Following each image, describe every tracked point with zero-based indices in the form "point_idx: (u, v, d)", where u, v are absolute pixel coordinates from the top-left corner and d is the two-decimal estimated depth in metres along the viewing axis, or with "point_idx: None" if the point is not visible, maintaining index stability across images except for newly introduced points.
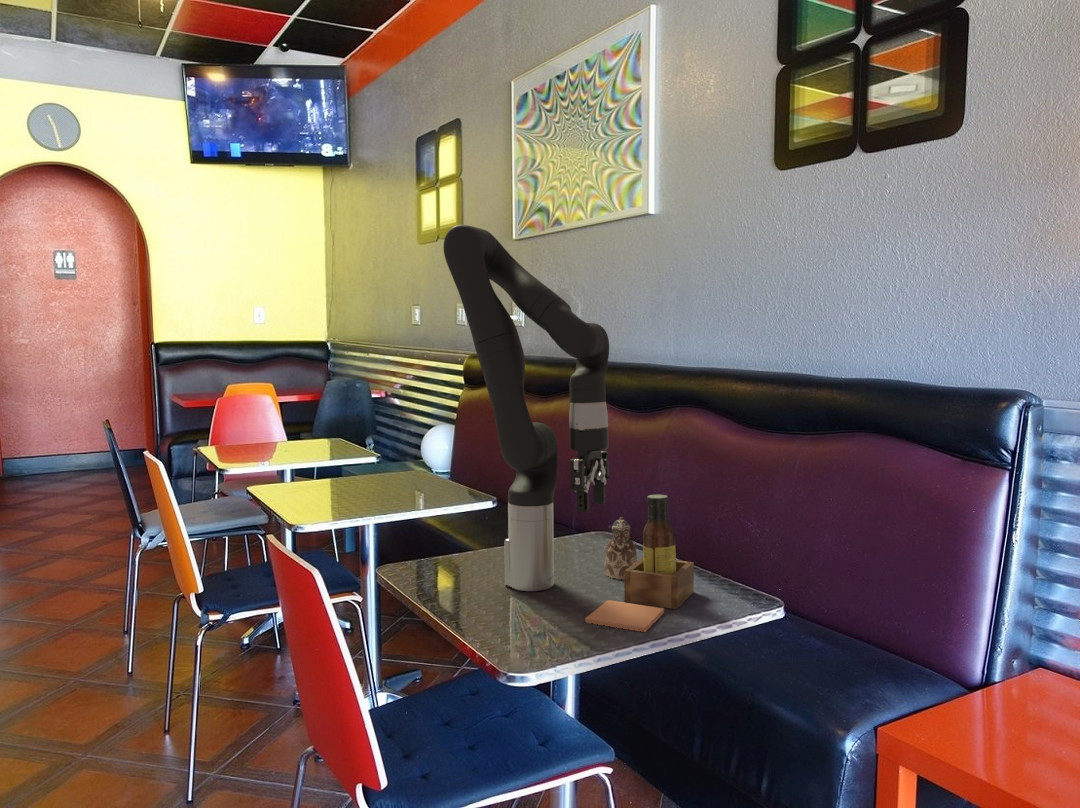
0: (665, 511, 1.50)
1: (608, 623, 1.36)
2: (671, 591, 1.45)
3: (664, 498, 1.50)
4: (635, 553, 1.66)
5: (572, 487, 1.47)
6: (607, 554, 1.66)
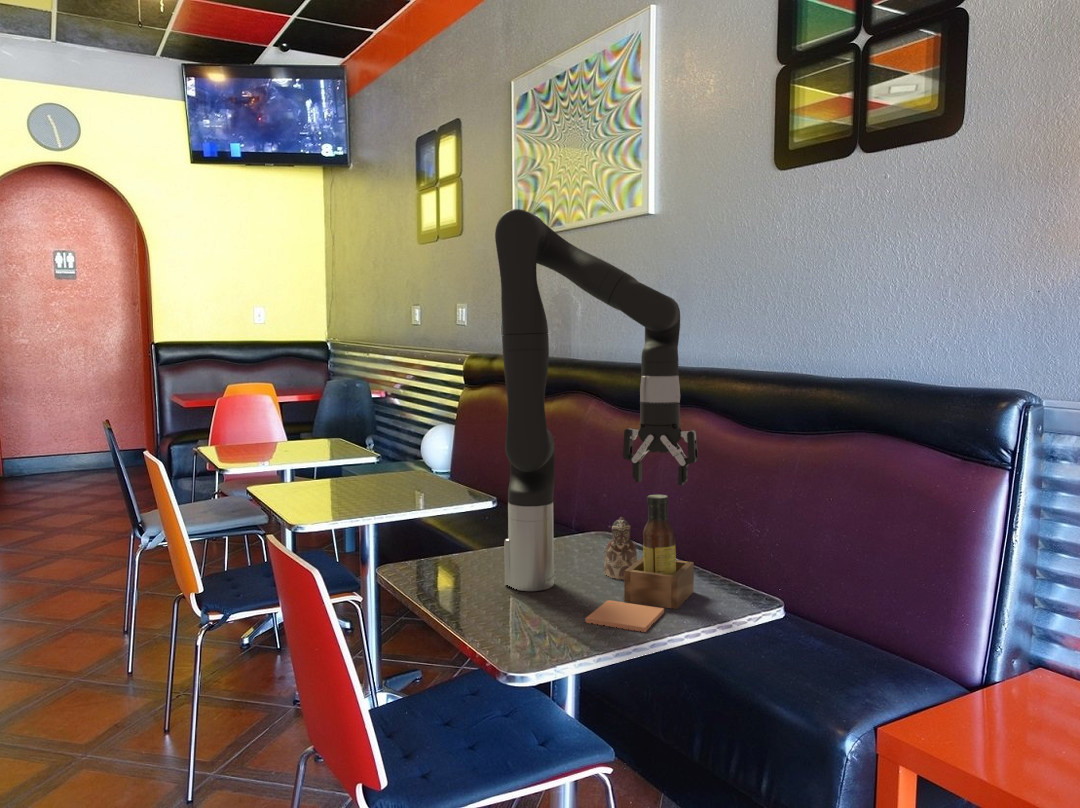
0: (665, 511, 1.50)
1: (608, 623, 1.36)
2: (671, 591, 1.45)
3: (664, 498, 1.50)
4: (635, 553, 1.66)
5: (695, 459, 1.47)
6: (607, 554, 1.66)
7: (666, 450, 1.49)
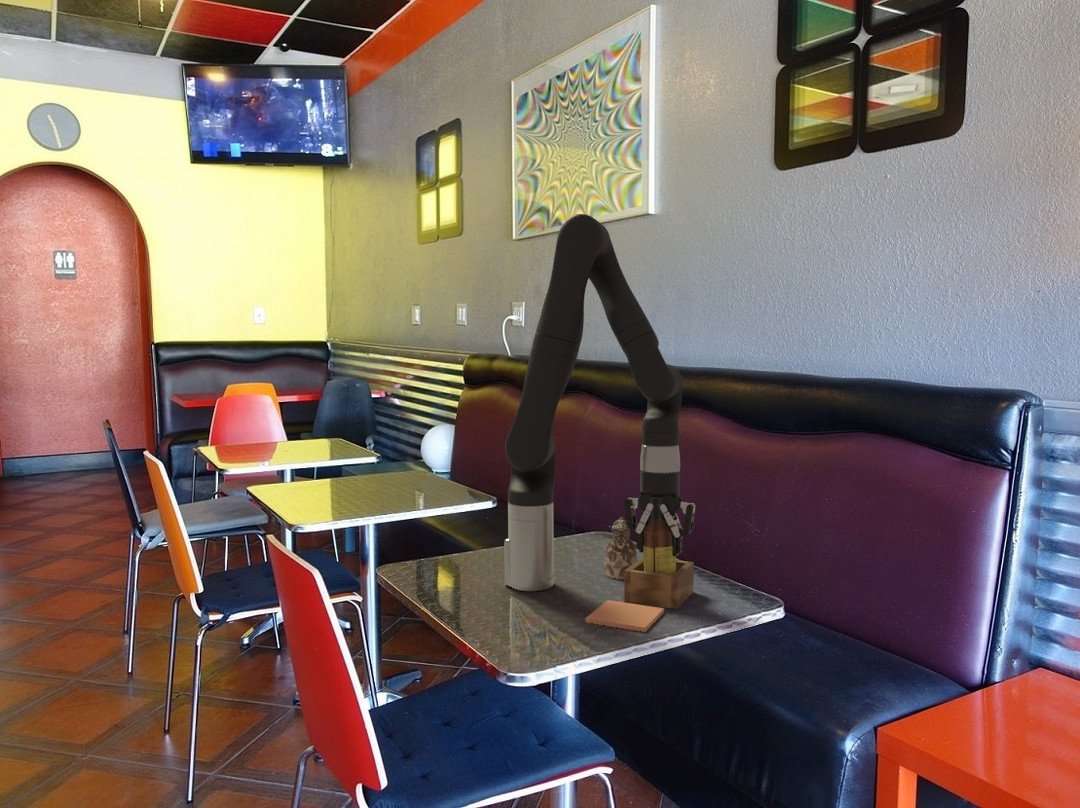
0: None
1: (608, 623, 1.36)
2: (671, 591, 1.45)
3: None
4: (635, 553, 1.66)
5: (689, 532, 1.48)
6: (607, 554, 1.66)
7: (666, 519, 1.50)
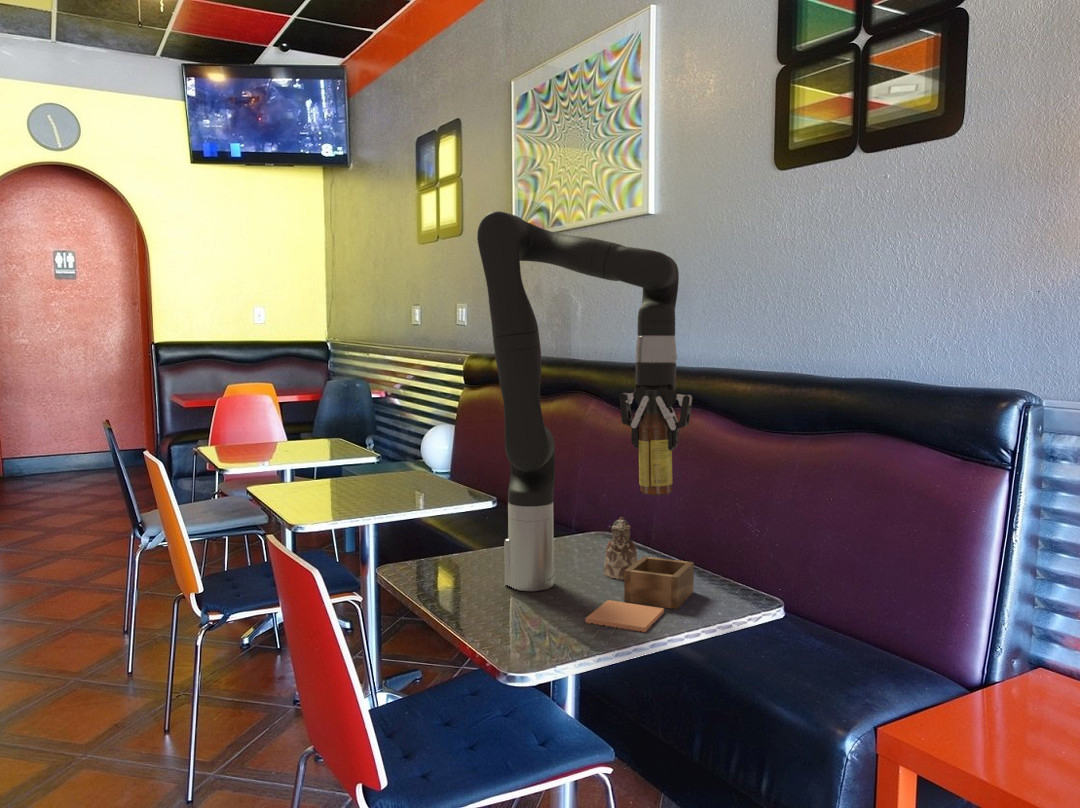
0: None
1: (608, 623, 1.36)
2: (671, 591, 1.45)
3: (660, 390, 1.46)
4: (635, 553, 1.66)
5: (686, 424, 1.45)
6: (607, 554, 1.66)
7: (661, 411, 1.46)
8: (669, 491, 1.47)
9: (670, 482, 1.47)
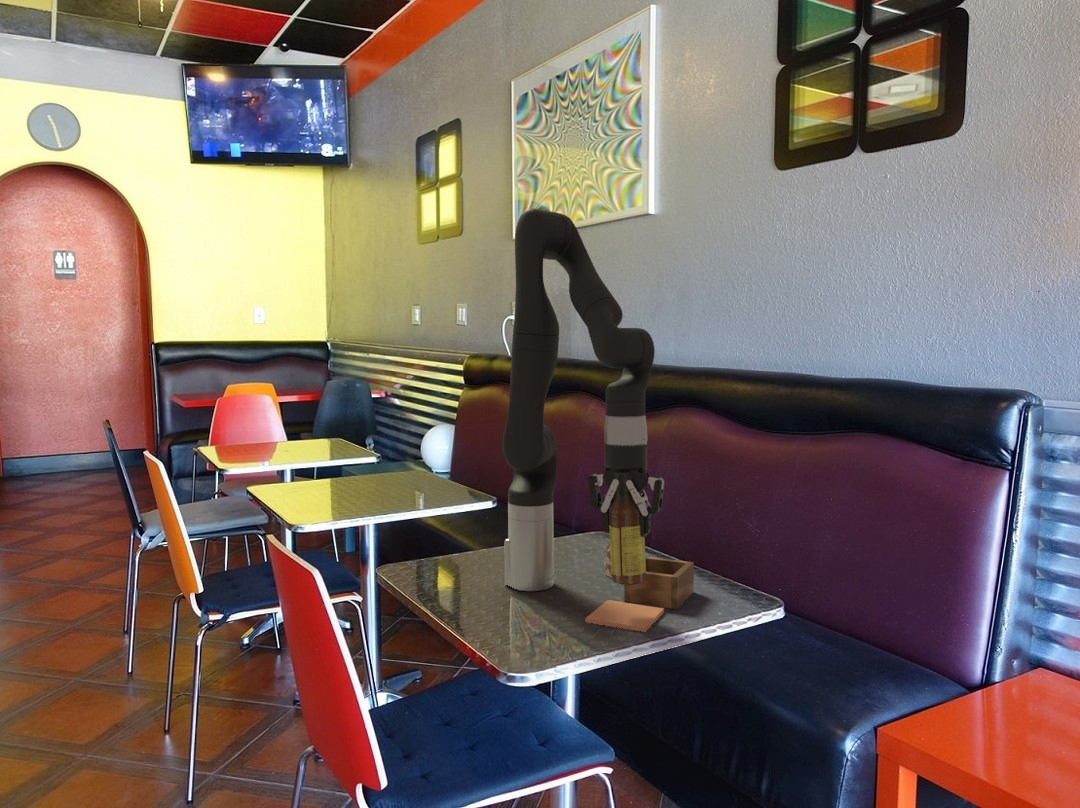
0: None
1: (608, 623, 1.36)
2: (671, 591, 1.45)
3: None
4: None
5: (658, 509, 1.36)
6: (607, 554, 1.66)
7: None
8: (642, 580, 1.38)
9: (643, 570, 1.38)
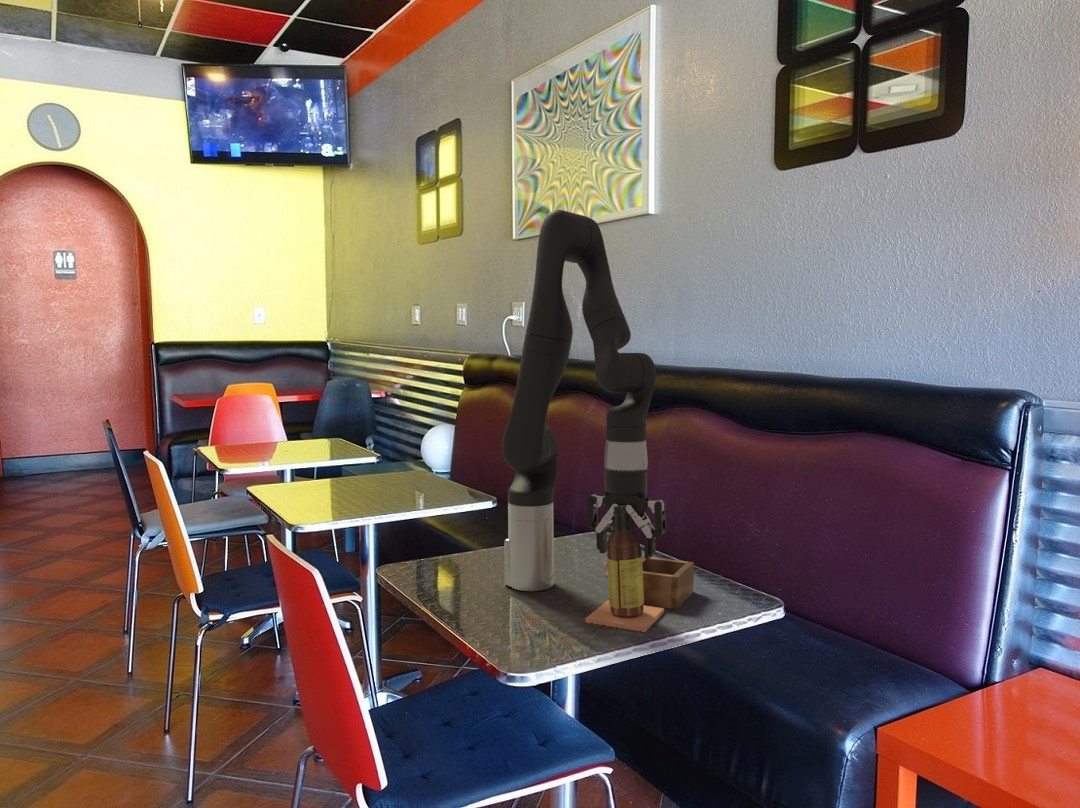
0: None
1: (608, 623, 1.36)
2: (671, 591, 1.45)
3: None
4: None
5: (662, 531, 1.36)
6: (607, 554, 1.66)
7: (632, 521, 1.38)
8: (640, 612, 1.39)
9: (641, 602, 1.39)
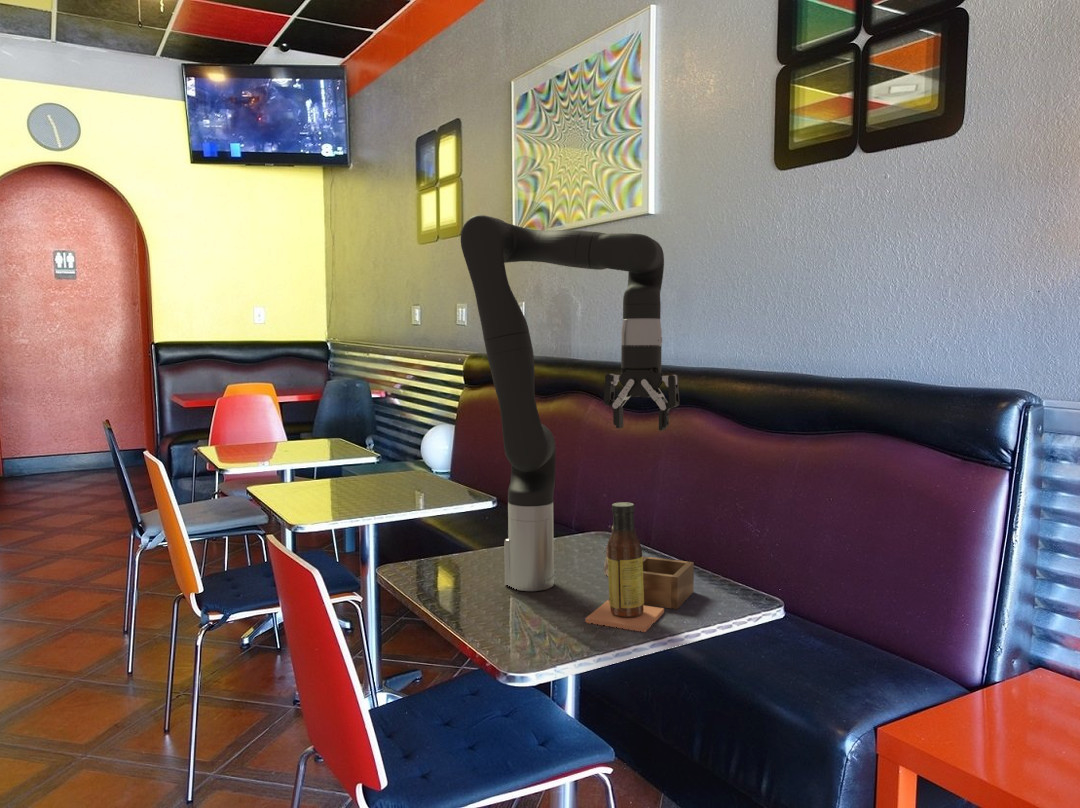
0: (631, 520, 1.38)
1: (608, 623, 1.36)
2: (671, 591, 1.45)
3: (630, 506, 1.38)
4: None
5: (676, 403, 1.44)
6: (607, 554, 1.66)
7: (647, 395, 1.46)
8: (640, 612, 1.39)
9: (641, 603, 1.39)
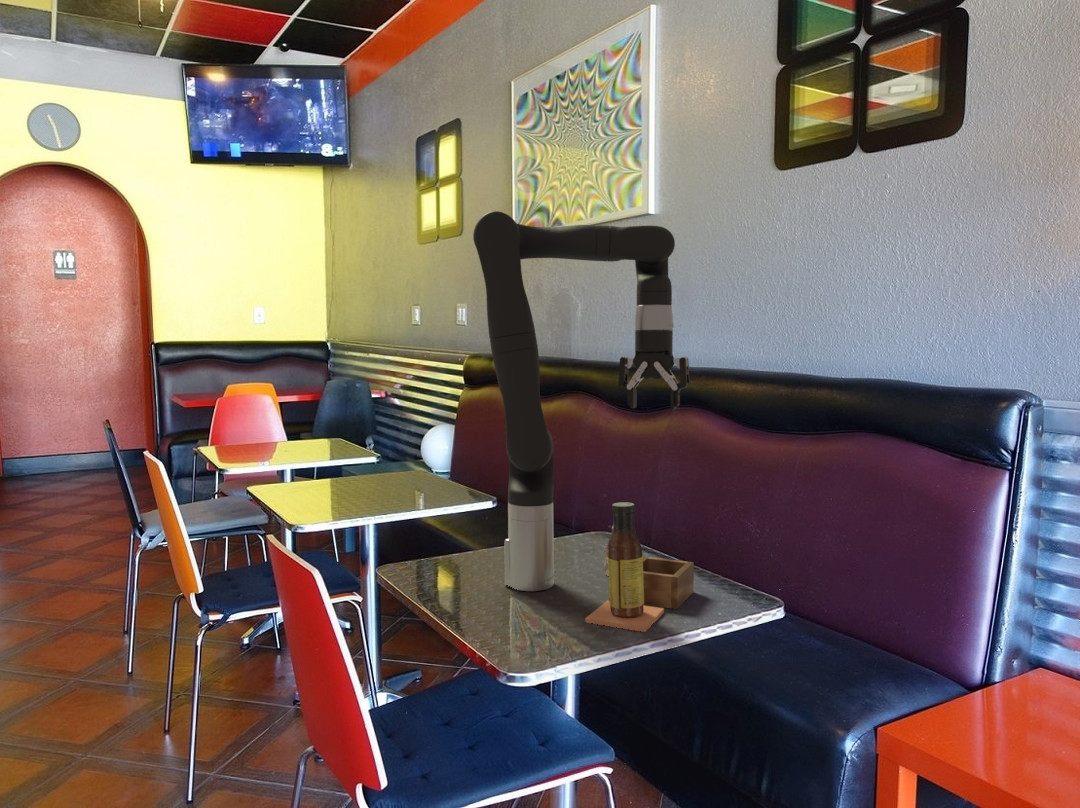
0: (631, 520, 1.38)
1: (608, 623, 1.36)
2: (671, 591, 1.45)
3: (630, 506, 1.38)
4: None
5: (686, 384, 1.54)
6: (607, 554, 1.66)
7: (659, 376, 1.57)
8: (640, 612, 1.39)
9: (641, 603, 1.39)
